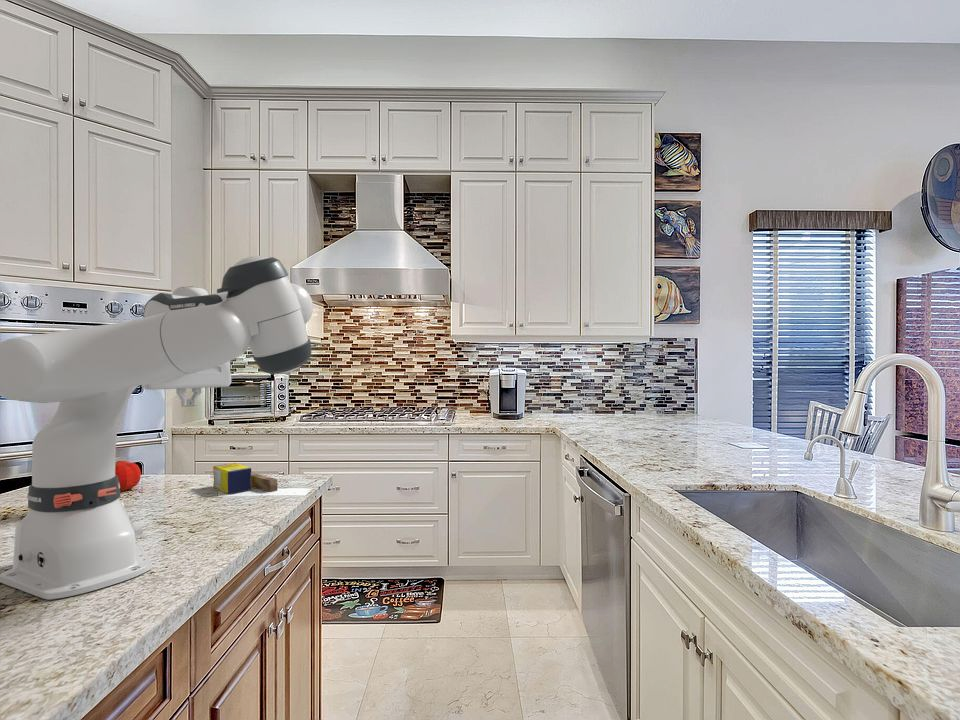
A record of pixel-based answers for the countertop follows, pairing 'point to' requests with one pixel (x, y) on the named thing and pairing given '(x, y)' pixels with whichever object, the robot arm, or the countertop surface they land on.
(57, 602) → the countertop surface
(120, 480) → the tomato
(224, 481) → the supplement box
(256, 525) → the countertop surface
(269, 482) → the walnut rail
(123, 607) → the countertop surface
